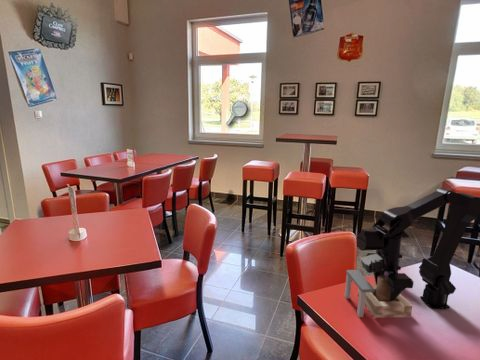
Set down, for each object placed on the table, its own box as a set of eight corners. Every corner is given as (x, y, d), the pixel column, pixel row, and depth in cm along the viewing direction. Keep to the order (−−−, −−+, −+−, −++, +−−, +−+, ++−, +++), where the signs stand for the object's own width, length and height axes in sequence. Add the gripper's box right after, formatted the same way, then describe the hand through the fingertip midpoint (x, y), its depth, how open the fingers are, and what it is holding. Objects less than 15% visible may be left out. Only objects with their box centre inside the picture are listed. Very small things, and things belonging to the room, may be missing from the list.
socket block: (390, 295, 105) (391, 285, 104) (410, 317, 93) (412, 305, 92) (357, 295, 104) (358, 285, 103) (374, 317, 92) (375, 306, 92)
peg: (386, 298, 101) (389, 274, 99) (394, 307, 96) (397, 282, 94) (372, 298, 101) (374, 274, 99) (379, 307, 96) (382, 283, 94)
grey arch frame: (354, 295, 104) (357, 269, 102) (371, 317, 92) (374, 289, 90) (343, 295, 104) (346, 270, 102) (358, 317, 92) (362, 289, 90)
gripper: (353, 237, 103) (349, 278, 106) (380, 262, 85) (375, 310, 88) (383, 237, 104) (379, 277, 107) (417, 262, 85) (410, 310, 89)
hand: (384, 292), depth 98 cm, fingers open, 9 cm apart
